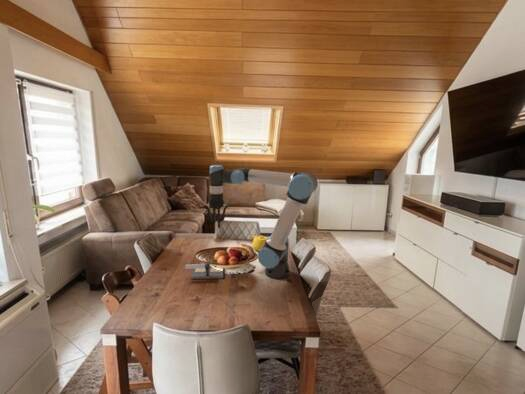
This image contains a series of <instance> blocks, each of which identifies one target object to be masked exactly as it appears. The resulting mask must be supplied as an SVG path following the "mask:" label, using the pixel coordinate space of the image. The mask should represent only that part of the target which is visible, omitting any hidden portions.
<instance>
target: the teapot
mask: <svg viewBox="0 0 525 394" xmlns="http://www.w3.org/2000/svg"><path fill="white" fill-rule="evenodd" d="M267 238H268V237H266V236H264V235H258V236H257V235H253V241H252V244H251V245H252V248H253V250H254V251H255V252H259V251H260V250H261V249H262V248H263V246H264V243H265V241H266V239H267Z"/></svg>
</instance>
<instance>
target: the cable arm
mask: <svg viewBox="0 0 525 394" xmlns="http://www.w3.org/2000/svg"><path fill="white" fill-rule="evenodd" d="M210 266H211V264H210V262H205V263H191V264H187V263H186V264H185V268H184V269H185V270H188V269H189V270H193V269H196V268H210Z"/></svg>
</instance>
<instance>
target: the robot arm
mask: <svg viewBox="0 0 525 394" xmlns="http://www.w3.org/2000/svg"><path fill="white" fill-rule="evenodd" d="M244 182H245V183H247V182H248V183H255V184H256V183H257V184H265V185H270V186H279V187H287V189H288V190H287V192H286V198H287V199H286V202H285V203H284V205H283V208H282V210H281V212H280V214H279V217H278V219H277V221H276V224H275V225H274V228H273V230H272V232H271V234H270V236H268V237H266V238H267V239H266V241H265V243H264V246H263V248H262V249H261V250H260V251H258V253H257V260H258V262H259V263H260V266H262V267H263V268H264V274H265V276H266V277H268V278H272V279H277V280H279V279H287V278H288V277H290V276H291V268H290V263H289V244H290V242H289V241H290V240H289V236H290V234H291V232H292V230H293V228H294V225H295V223H296V221H297V219H298V217H299V214H300V212H301V210H302V208H303V206H305V205H307V204H308V203H309V201H310V198H311V196H312V195H313V193H314V192H315V191H316V190H317V188H318V179H317V177H316V176H315V174H313V173H312V172H308V171H307V172H297V171H294V172H293V173H292V172H291V173H290V172H281V171H274V170H273V171H271V170H264V169H263V170H262V169H254V168H248V167H240V168H236V169H224V166H223V165H219V164H214V165H210V166H209V201H208V203H207V204H205V205H204V208H206V210H207V211H206V212H207V216H208V219H209V222H212V224H213V225H212V227H213V228H214V233H215V235H217V234H219V229H220V228H221V223H222V222H224V219H225V215H226V211H227V208H228V206H229V205H228V204H226V203H225V201H224V193H223V192H224V184H230V185H242V184H243V183H244ZM210 207H211V208H212V212H211V209H210ZM222 207H223V211H222V214H221V209H222ZM216 210H217V215H216ZM216 216H217V221H216Z"/></svg>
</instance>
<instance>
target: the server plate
mask: <svg viewBox="0 0 525 394" xmlns="http://www.w3.org/2000/svg"><path fill="white" fill-rule="evenodd" d="M211 266H212V265H210V268H196V269H192V271H191V274H190V280H207V279H208V280H210V279H214V280H215V279H216V280H217V279H218V280H219V279H220V280H221V279H224V274H223V271H220V270H216V269H214V268H212V267H211Z"/></svg>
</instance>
